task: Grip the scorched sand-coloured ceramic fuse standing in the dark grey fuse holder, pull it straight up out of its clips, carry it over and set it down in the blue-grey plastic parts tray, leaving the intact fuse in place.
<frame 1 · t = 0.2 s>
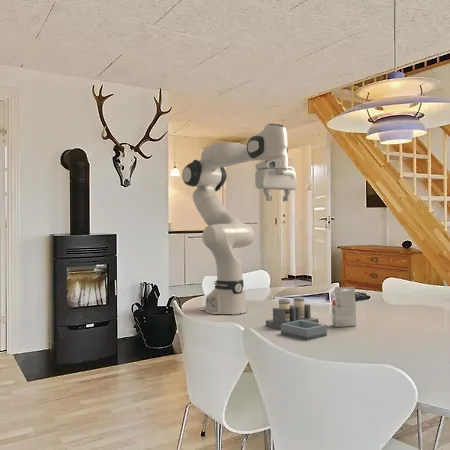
hand: (277, 201, 179), 47 cm above the table, fingers open, 8 cm apart
intact fuse: (299, 318, 176), point 2 cm above the table, touching fuse holder
ink box: (344, 326, 171), on the table
parts tray: (303, 334, 159), on the table
blown fuse: (284, 321, 171), point 2 cm above the table, touching fuse holder
fuse holder: (292, 325, 174), on the table
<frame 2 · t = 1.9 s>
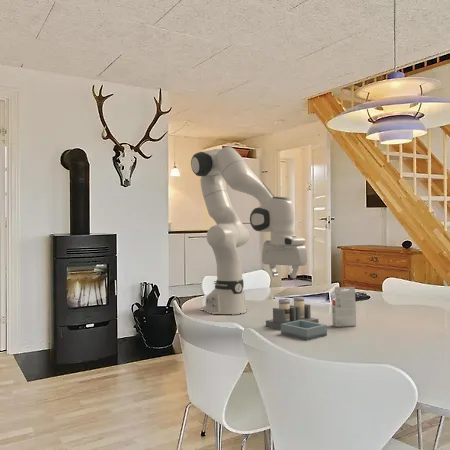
hand: (284, 277, 171), 18 cm above the table, fingers open, 8 cm apart
nothing on the table moved.
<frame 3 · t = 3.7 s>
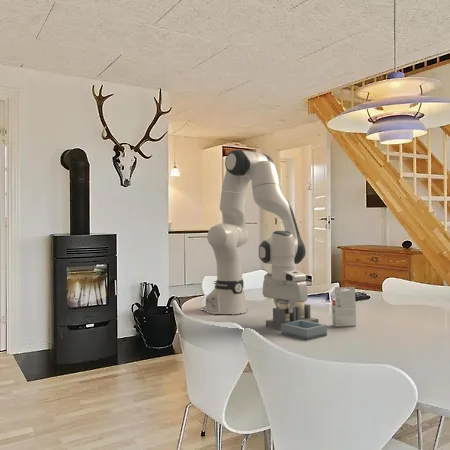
hand: (284, 311, 171), 6 cm above the table, fingers closed on blown fuse, 4 cm apart
blown fuse: (284, 321, 171), point 2 cm above the table, touching fuse holder, gripper
everything else where it was.
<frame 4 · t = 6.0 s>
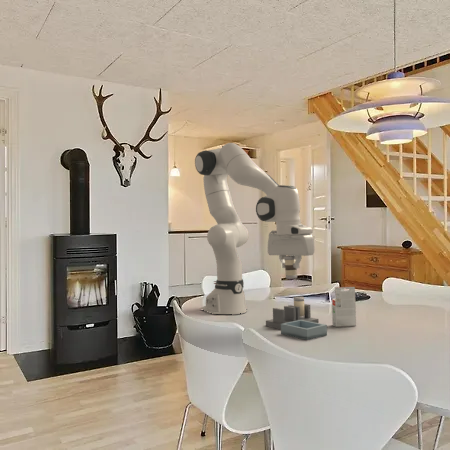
hand: (290, 268, 166), 22 cm above the table, fingers closed on blown fuse, 4 cm apart
blown fuse: (291, 278, 166), point 19 cm above the table, touching gripper
everything else where it was.
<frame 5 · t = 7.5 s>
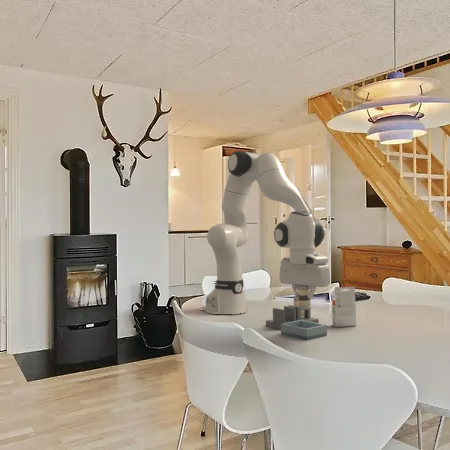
hand: (304, 298, 159), 13 cm above the table, fingers closed on blown fuse, 4 cm apart
blown fuse: (304, 308, 159), point 9 cm above the table, touching gripper
everything else where it was.
when the fingers open (7 cm above the table, at t = 8.4 s): blown fuse drops 2 cm, resting on parts tray.
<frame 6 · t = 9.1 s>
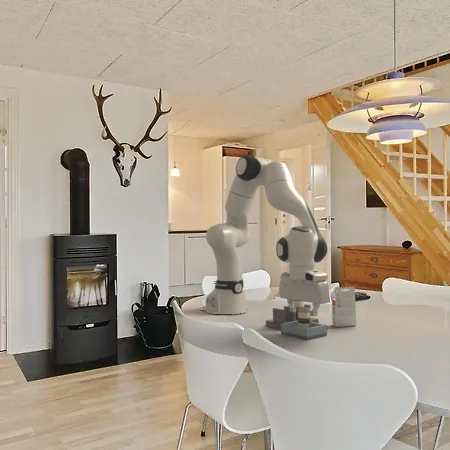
hand: (303, 313, 159), 7 cm above the table, fingers open, 8 cm apart
blown fuse: (303, 331, 159), point 1 cm above the table, touching parts tray
everything else where it was.
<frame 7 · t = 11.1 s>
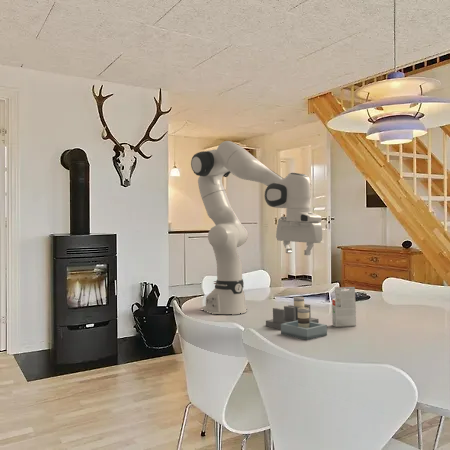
hand: (297, 254, 170), 27 cm above the table, fingers open, 8 cm apart
nothing on the table moved.
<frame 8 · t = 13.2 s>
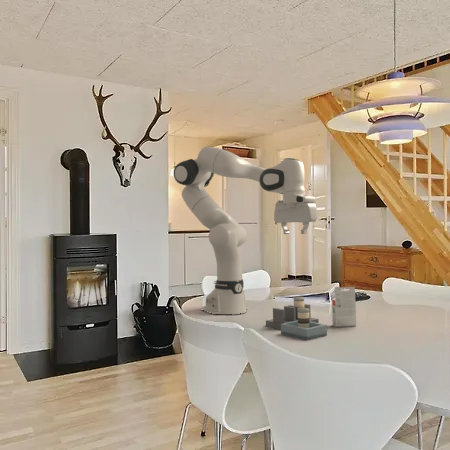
hand: (294, 234, 183), 34 cm above the table, fingers open, 8 cm apart
nothing on the table moved.
at the end: blown fuse inside the target area on the parts tray (0.1 cm from its centre), point 1.0 cm above the parts tray's base; the gripper is holding nothing; intact fuse moved 0.0 cm from its start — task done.
